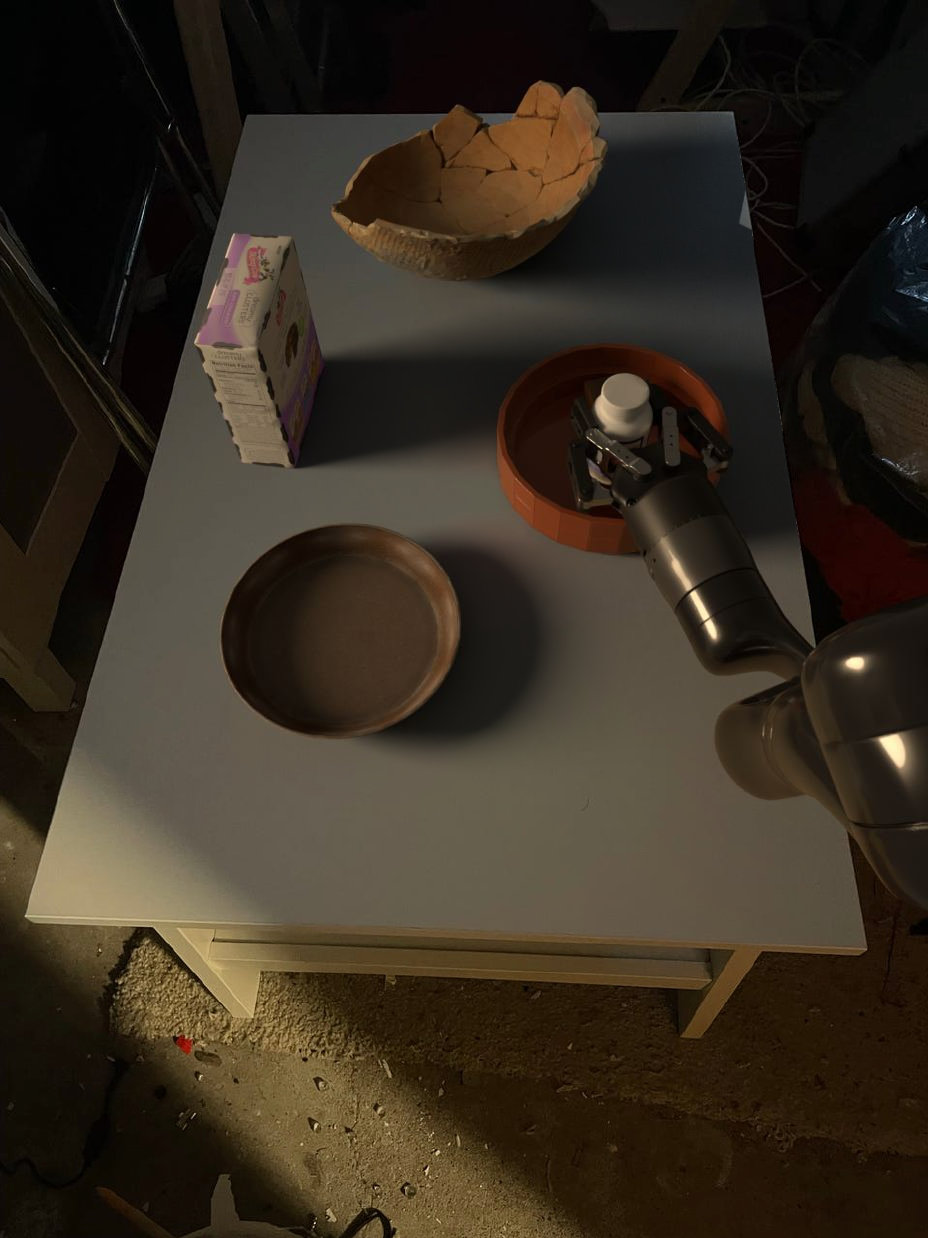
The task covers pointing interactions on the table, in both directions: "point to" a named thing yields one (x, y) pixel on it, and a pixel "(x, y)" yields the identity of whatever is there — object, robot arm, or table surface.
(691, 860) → the table surface
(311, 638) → the plant saucer
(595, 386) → the block
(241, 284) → the candy box
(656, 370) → the bowl
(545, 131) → the ceramic bowl
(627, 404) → the pill bottle
